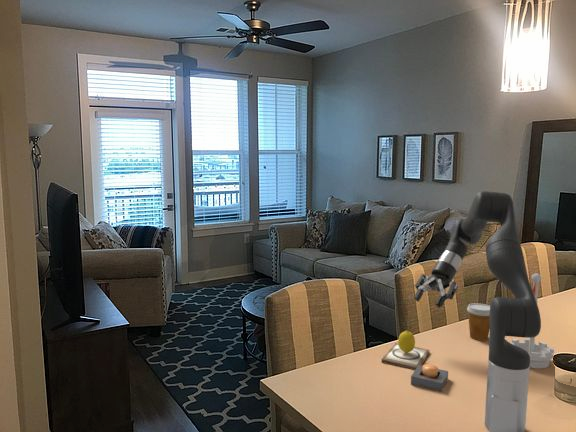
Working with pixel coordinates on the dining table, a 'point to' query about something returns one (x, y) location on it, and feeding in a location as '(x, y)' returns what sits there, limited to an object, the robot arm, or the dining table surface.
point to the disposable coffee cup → (479, 320)
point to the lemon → (406, 341)
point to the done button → (430, 371)
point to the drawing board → (405, 357)
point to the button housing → (429, 379)
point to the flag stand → (537, 352)
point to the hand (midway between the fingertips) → (426, 303)
